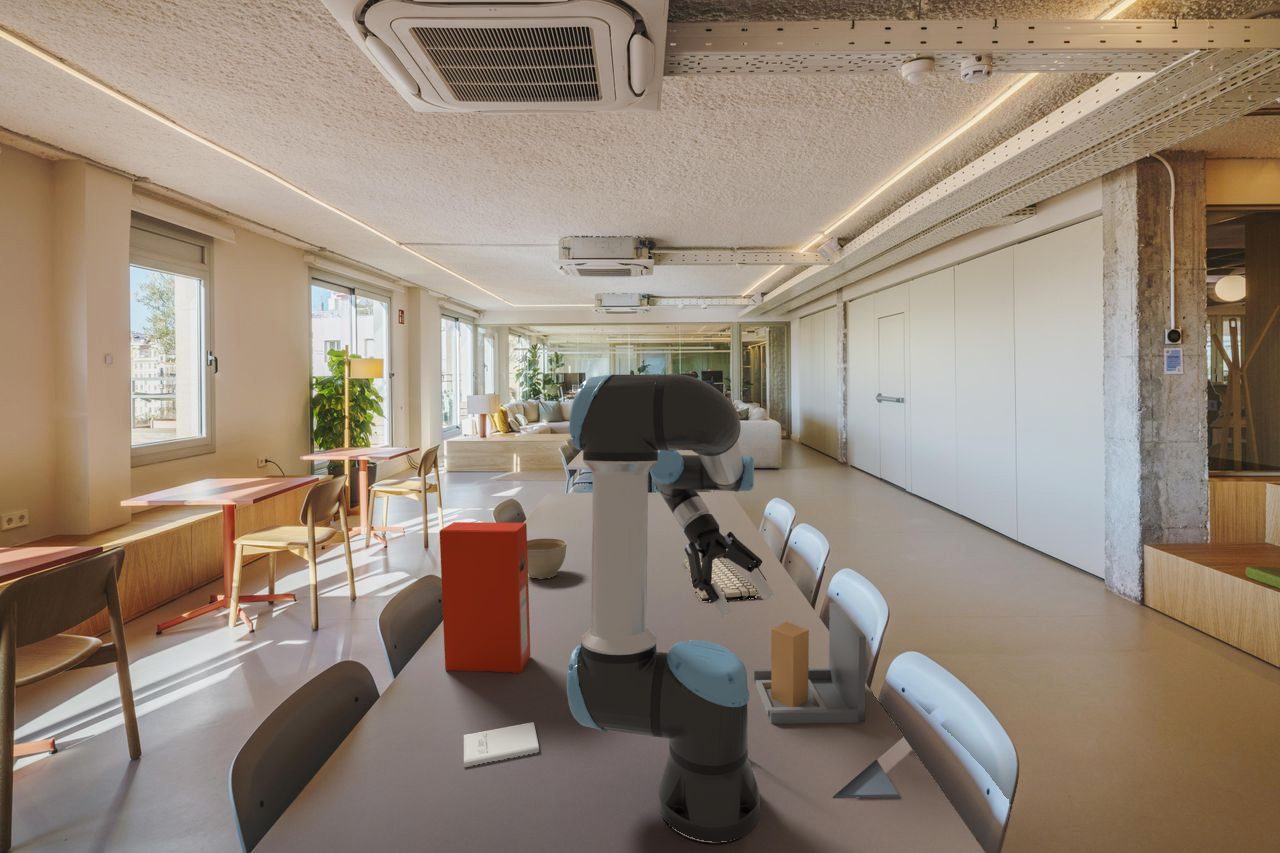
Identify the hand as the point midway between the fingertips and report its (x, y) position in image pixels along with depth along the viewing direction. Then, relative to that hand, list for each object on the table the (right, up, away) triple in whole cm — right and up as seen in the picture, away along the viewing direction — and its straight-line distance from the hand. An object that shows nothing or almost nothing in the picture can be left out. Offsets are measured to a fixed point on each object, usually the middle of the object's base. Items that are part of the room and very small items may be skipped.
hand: (749, 605), depth 118 cm
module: (+6, -16, -7) cm, 19 cm away
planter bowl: (-55, -13, +74) cm, 93 cm away
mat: (+12, -19, -27) cm, 35 cm away
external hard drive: (-47, -20, -18) cm, 54 cm away
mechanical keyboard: (+2, -14, +67) cm, 68 cm away
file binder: (-57, -17, +12) cm, 61 cm away
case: (+10, -18, -7) cm, 21 cm away
